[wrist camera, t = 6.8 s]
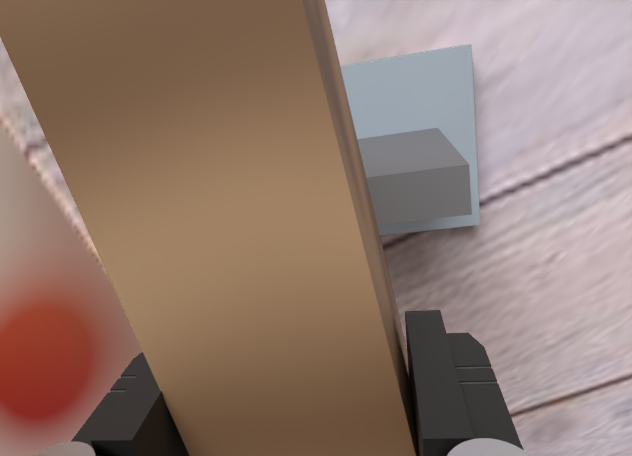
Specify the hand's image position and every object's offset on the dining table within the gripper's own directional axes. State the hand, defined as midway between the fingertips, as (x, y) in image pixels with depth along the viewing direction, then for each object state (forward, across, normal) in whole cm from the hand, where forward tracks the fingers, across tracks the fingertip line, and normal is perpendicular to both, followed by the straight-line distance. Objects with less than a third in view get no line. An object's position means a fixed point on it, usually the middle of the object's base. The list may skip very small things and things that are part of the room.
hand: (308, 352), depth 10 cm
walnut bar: (+1, 0, 0) cm, 1 cm away
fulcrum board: (+20, +1, 0) cm, 20 cm away
